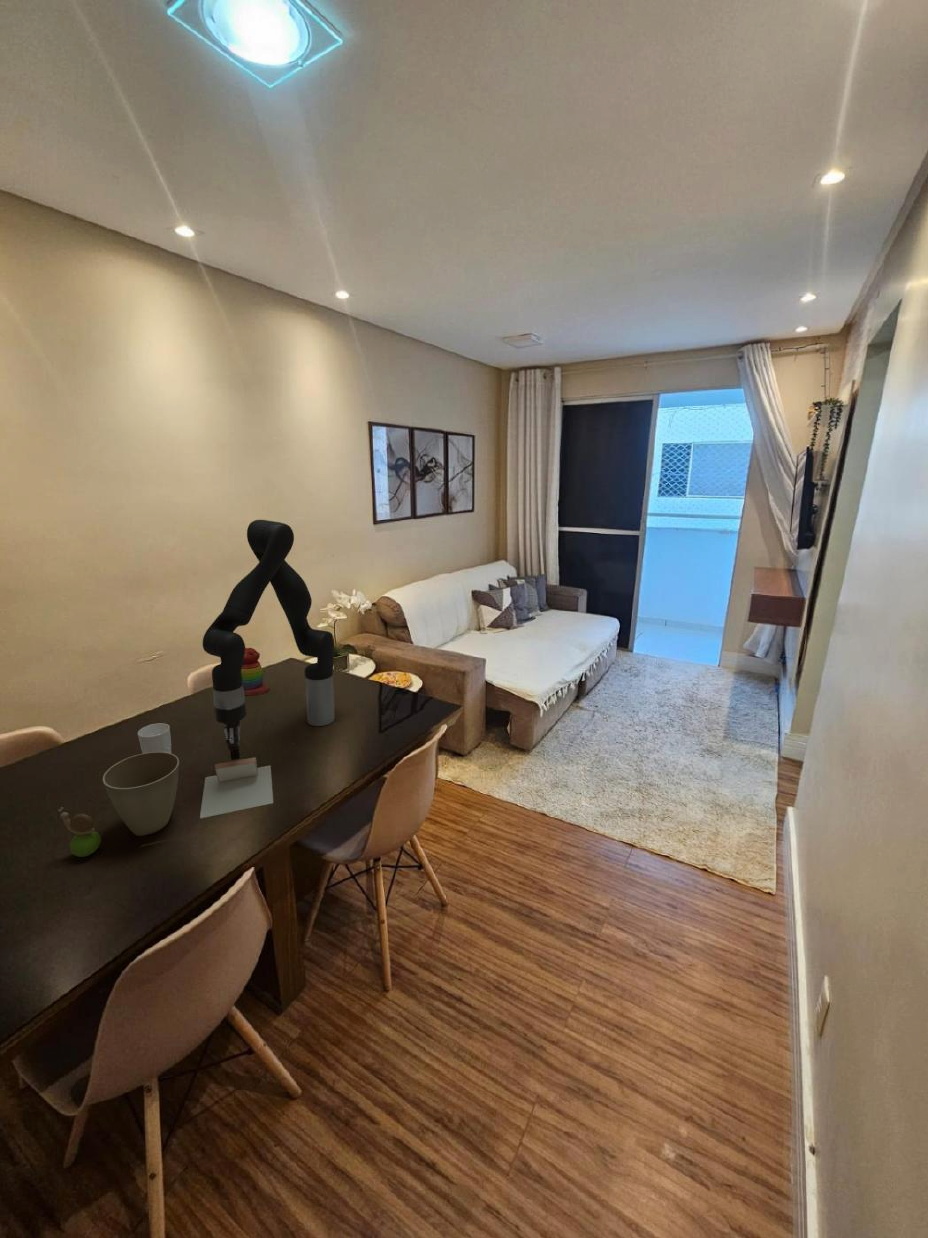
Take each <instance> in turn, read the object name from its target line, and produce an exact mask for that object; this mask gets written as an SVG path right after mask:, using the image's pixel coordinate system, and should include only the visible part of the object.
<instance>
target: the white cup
mask: <svg viewBox="0 0 928 1238" xmlns="http://www.w3.org/2000/svg"><path fill="white" fill-rule="evenodd" d="M137 737H138V741H139V744H140V745H139V747H140V749H141V750H140V751H141V754H143V753H149V752H167V753H171V754H172V739H171V738H172V737H171V727H170V725H169V724H167V723H158V722H157V723H152V724H149V725H145V726H143V727H142V728H140V729H139V730H138V732H137Z"/></svg>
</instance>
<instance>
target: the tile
mask: <svg viewBox="0 0 928 1238" xmlns="http://www.w3.org/2000/svg"><path fill="white" fill-rule="evenodd" d="M257 768H258V763H257V757H249V758H244V759H242V758H241V759H236V760H231V761H227V762H226V761H225V762H220V763H215V764H214V770H215V773H216V774H215V775H217V778H218V781H219V782H225V781H230V780H235V779H241V778H246V777H251V776H257V775H258V770H257Z"/></svg>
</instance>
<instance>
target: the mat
mask: <svg viewBox="0 0 928 1238" xmlns="http://www.w3.org/2000/svg"><path fill="white" fill-rule="evenodd" d="M271 768H272V765H265V766H261V767H257V770H258V775H257V776H251V777H246V778H241V779H235V780H230V781H225V782H219V781H218V778H217V774H215V775H212V776H211V775H210V776H206V777H205V779H204V784H203V785H204V787H203V793H202V801H201V808H200V815H199V819H203V818H204V819H206V818H209V817H214V816H218V815H223V814H228V813H232V812H238V811H242V810H248V809H252V808H256V807H261V806H266V805H271V804H274V794H273V781H272V769H271Z"/></svg>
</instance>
